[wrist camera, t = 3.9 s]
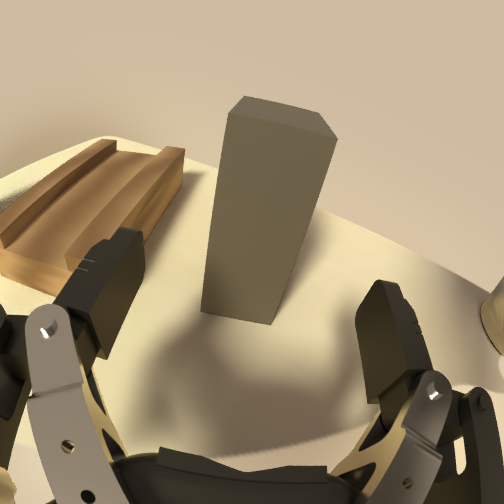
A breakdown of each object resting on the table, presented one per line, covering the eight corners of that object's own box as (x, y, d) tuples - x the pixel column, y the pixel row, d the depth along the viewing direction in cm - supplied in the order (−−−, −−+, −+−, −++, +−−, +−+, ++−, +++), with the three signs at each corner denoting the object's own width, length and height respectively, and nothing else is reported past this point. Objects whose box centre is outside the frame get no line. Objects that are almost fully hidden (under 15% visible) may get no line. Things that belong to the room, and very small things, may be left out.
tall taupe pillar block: (273, 264, 23) (318, 113, 16) (270, 325, 18) (337, 138, 11) (215, 252, 23) (242, 95, 15) (198, 311, 18) (225, 112, 11)
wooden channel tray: (181, 185, 30) (185, 148, 28) (105, 313, 16) (92, 262, 13) (102, 172, 30) (101, 138, 27) (1, 275, 15) (-17, 229, 13)
